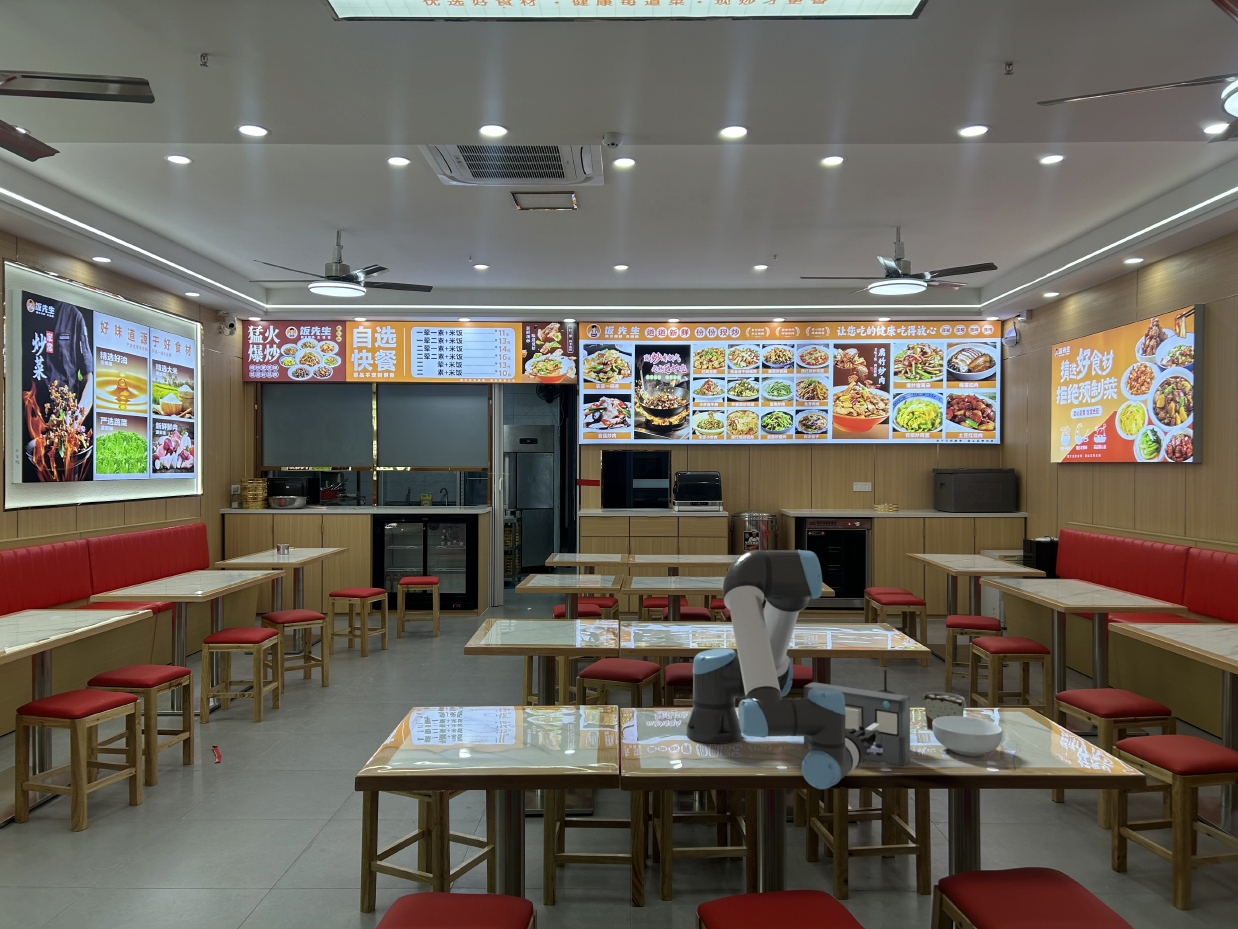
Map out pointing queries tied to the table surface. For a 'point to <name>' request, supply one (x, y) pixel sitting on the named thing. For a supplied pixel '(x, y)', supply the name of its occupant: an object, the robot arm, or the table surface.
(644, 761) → the table surface
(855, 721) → the key middle
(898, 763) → the keypad
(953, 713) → the mint chip dessert
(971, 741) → the cereal bowl
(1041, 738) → the table surface
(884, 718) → the key right
